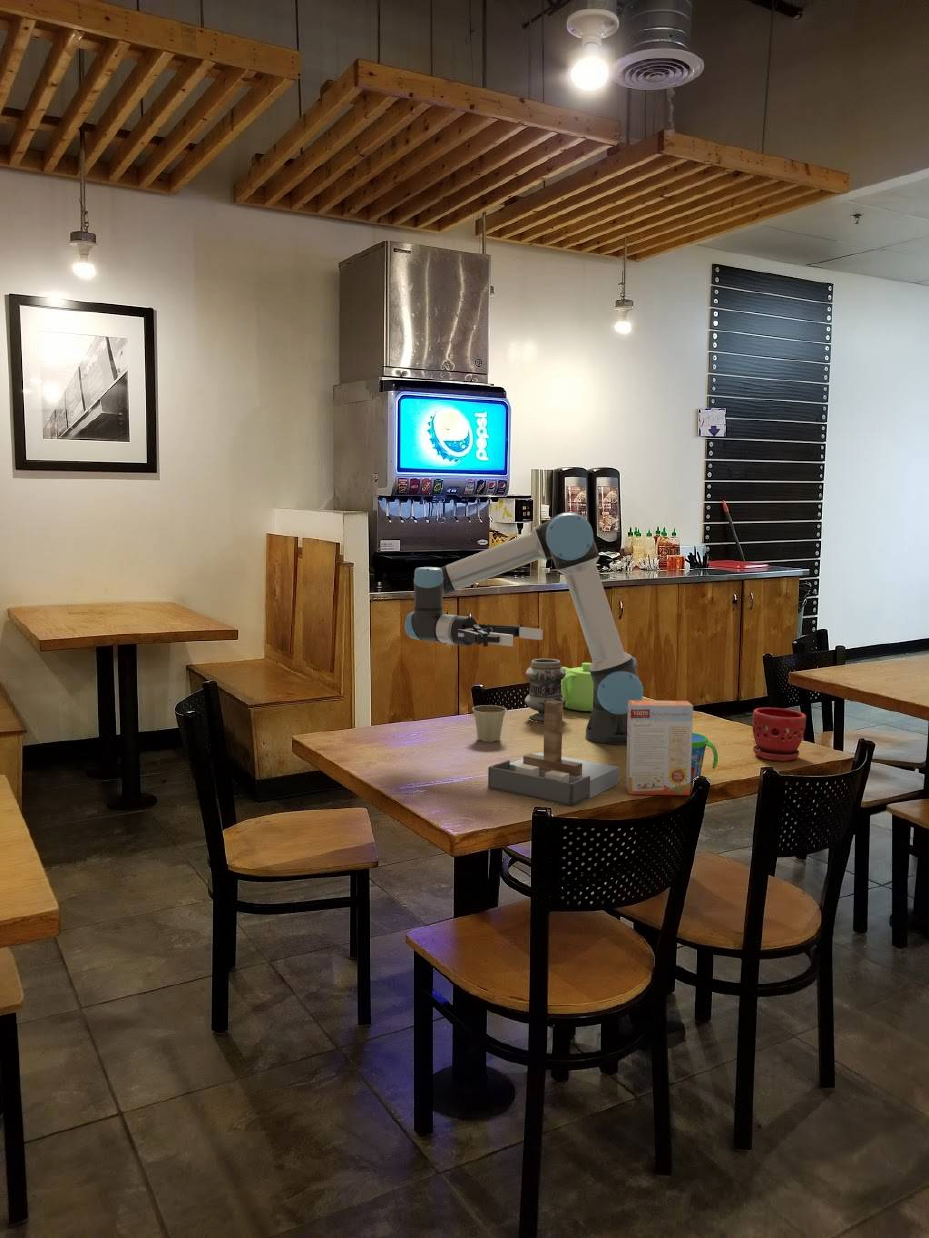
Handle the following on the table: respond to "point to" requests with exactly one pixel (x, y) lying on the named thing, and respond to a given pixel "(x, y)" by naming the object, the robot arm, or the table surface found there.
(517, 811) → the table surface
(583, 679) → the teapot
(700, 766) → the snack cup
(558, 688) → the apothecary jar
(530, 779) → the box
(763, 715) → the plant pot
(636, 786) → the cracker box
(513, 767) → the board
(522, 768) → the tile
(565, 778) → the tile
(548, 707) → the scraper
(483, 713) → the flower pot
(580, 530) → the robot arm
